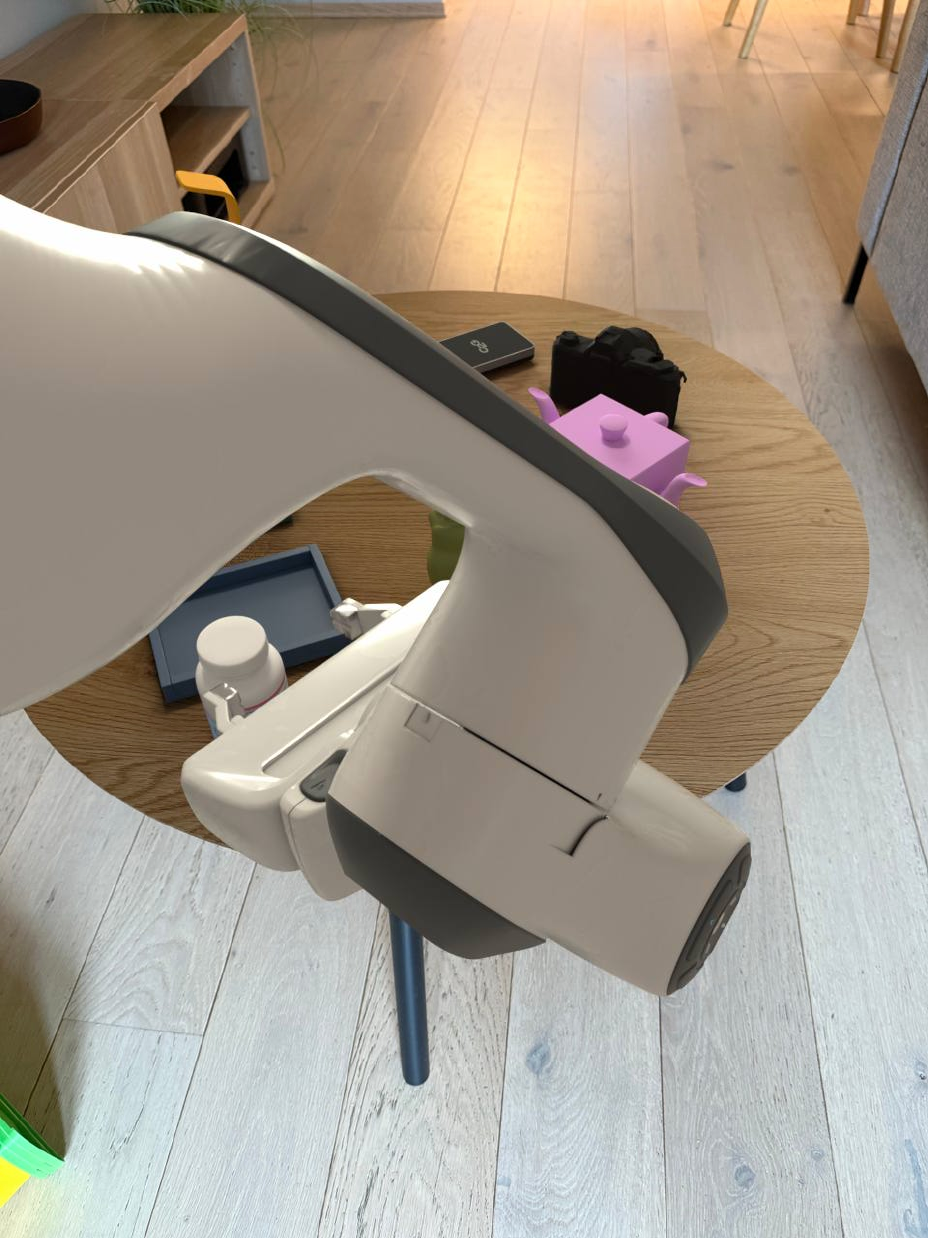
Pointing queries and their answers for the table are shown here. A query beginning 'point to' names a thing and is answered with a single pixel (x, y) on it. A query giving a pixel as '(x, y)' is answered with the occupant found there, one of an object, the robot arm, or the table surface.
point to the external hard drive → (491, 348)
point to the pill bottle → (239, 663)
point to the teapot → (626, 443)
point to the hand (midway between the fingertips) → (279, 653)
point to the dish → (253, 614)
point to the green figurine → (444, 547)
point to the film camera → (615, 371)
